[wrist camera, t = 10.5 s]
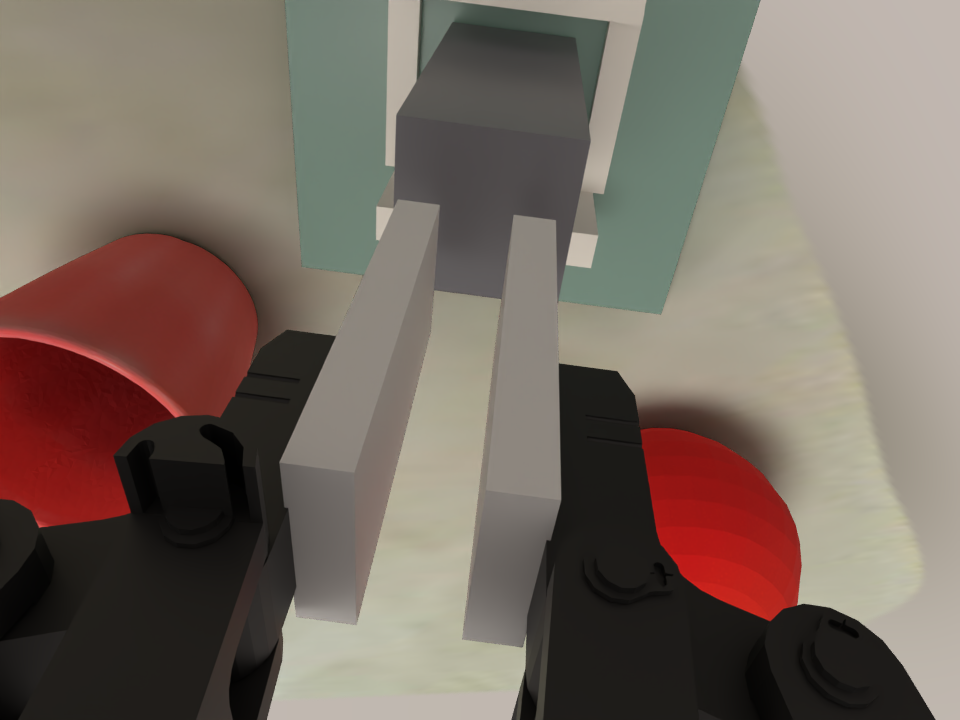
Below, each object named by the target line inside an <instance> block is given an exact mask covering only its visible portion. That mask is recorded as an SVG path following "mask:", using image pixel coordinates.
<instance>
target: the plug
mask: <svg viewBox="0 0 960 720" xmlns="http://www.w3.org/2000/svg"><path fill="white" fill-rule="evenodd" d="M590 143H591V137H590V131H589V124H588V118H587V111H586V104H585V98H584V91H583V84H582V78H581V71H580V64H579V58H578V51H577V45H576V38H571V37H564V36H556V35H548V34H541V33H533V32H525V31H518V30H510V29H502V28H495V27H487V26H479V25H472V24H464V23H456V22H452V24H451V26H450V27H449V29H448V30H447V32H446V34H445V35H444V37H443V39H442V40H441V42H440V44H439V45H438V47H437V49H436V50H435V52H434V53H433V55H432V57H431V58H430V60H429V62H428V63H427V65H426V67H425V68H424V70H423V72H422V73H421V75H420V77H419V78H418V80H417V81H416V83H415V85H414V86H413V88H412V90H411V91H410V93H409V95H408V96H407V98H406V100H405V101H404V103H403V104H402V106H401V108H400V109H399V111H398V113H397V114H396V136H395V172H394V207H395V205H396V203H397V200H398V199H399V200H406V201H414V202H421V203H429V204H437V205H440V212H439V226H438V240H437V254H436V268H435V282H434V290H438V291H445V292H453V293H460V294H468V295H476V296H483V297H491V298H498V299H502V293H503V286H504V279H505V272H506V265H507V258H508V251H509V244H510V237H511V230H512V223H513V216H514V215H520V216H528V217H535V218H543V219H550V220H556V252H557V305H558V300H559V295H560V290H561V285H562V280H563V275H564V271H565V266H566V261H567V256H568V251H569V246H570V241H571V236H572V231H573V226H574V221H575V217H576V212H577V207H578V202H579V197H580V192H581V187H582V182H583V177H584V172H585V167H586V163H587V158H588V153H589V148H590ZM393 209H394V208H393Z"/></svg>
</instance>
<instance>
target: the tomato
mask: <svg viewBox="0 0 960 720" xmlns="http://www.w3.org/2000/svg"><path fill="white" fill-rule="evenodd" d="M640 431H641V437H642V443H643V444H642V449H644V456H645V462H646V468H647V474H648V481H649V487H650V493H651V499H652V505H653V512H654V518H655V524H656V530H657V534H658V538H659V541H660V544H661V546H663V547H664V549H665V550H666V551H667V553H668V554H669V555H670V556H671V558H672V559H673V560H674V561H675V563H676V564H677V565H678V568H679V571H680V573H681V574H682V575H683V577H685V578H686V579H687V580H689V581H690V582H691V583H692V584H694V585H695V586H696V587H698V588H699V589H700V590H702V591H704V592H706V593H708V594H710V595H711V596H713V597H715V598H717V599H719V600H721V601H724V602H726V603H728V604H731V605H733V606H735V607H738V608H740V609H742V610H745V611H747V612H750V613H752V614H754V615H757V616H759V617H761V618H764V619H766V620H768V621H771V620H772V619H773V618H774V617H775V616H776V615H777V614H778V613H779V612H780V611H781V610H782V609H784V608H789V607H793V606H797V603H798V593H799V583H800V574H801V566H802V565H801V553H800V542H799V537H798V533H797V529H796V525H795V523H794V521H793V518H792V516H791V514H790V511H789V509H788V507H787V505H786V504H785V502H784V501H783V500H782V498H781V497H780V496H779V495H778V493H777V492H776V491H775V489H774V488H773V487H772V485H771V484H770V483H769V481H768V480H767V479H766V478H765V476H764V475H763V474H762V473H761V472H760V471H759V470H758V469H756V468H755V467H754V466H753V465H752V464H751V463H750V462H748V461H747V460H745V459H744V458H743V457H741V456H740V455H738V454H737V453H735V452H734V451H732V450H730V449H729V448H727V447H726V446H724V445H722V444H721V443H719V442H717V441H714V440H711V439H709V438H706V437H703V436H700V435H697V434H695V433H692V432H689V431H684V430H678V429H673V428H648V429H642V430H640Z"/></svg>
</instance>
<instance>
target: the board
mask: <svg viewBox="0 0 960 720" xmlns="http://www.w3.org/2000/svg"><path fill="white" fill-rule="evenodd" d="M759 3H760V0H285V12H286V27H287V43H288V59H289V74H290V90H291V106H292V121H293V137H294V153H295V168H296V184H297V200H298V215H299V231H300V247H301V262H302V267H306V268H314V269H321V270H329V271H337V272H344V273H352V274H359V275H364V274H365V271H366V269H367V267H368V265H369V263H370V260H371V258H372V256H373V254H374V251H375V249H376V247H377V245H378V243H379V240H380V238H381V236H382V234H383V231H384V229H385V227H386V225H387V223H388V220H389V218H390V216H391V214H392V211H393V208H394V172H395V136H396V114H397V113H398V111H399V109H400V108H401V106H402V104H403V103H404V101H405V100H406V98H407V96H408V95H409V93H410V91H411V90H412V88H413V86H414V85H415V83H416V81H417V80H418V78H419V77H420V75H421V73H422V72H423V70H424V68H425V67H426V65H427V63H428V62H429V60H430V58H431V57H432V55H433V53H434V52H435V50H436V49H437V47H438V45H439V44H440V42H441V40H442V39H443V37H444V35H445V34H446V32H447V30H448V29H449V27H450V26H451V24H452V22H456V23H464V24H472V25H479V26H487V27H495V28H502V29H510V30H518V31H525V32H533V33H541V34H548V35H556V36H564V37H571V38H576V45H577V51H578V58H579V64H580V71H581V78H582V84H583V91H584V98H585V104H586V111H587V118H588V124H589V131H590V137H591V143H590V148H589V153H588V158H587V163H586V167H585V172H584V177H583V182H582V187H581V192H580V197H579V202H578V207H577V212H576V217H575V221H574V226H573V231H572V236H571V241H570V246H569V251H568V256H567V261H566V266H565V271H564V275H563V280H562V285H561V290H560V295H559V300H558V301H563V302H571V303H578V304H586V305H593V306H601V307H608V308H616V309H623V310H631V311H639V312H646V313H654V314H661V313H662V310H663V307H664V304H665V301H666V297H667V294H668V291H669V288H670V285H671V282H672V278H673V275H674V272H675V269H676V266H677V263H678V259H679V256H680V253H681V250H682V247H683V244H684V240H685V237H686V234H687V231H688V228H689V225H690V221H691V218H692V215H693V212H694V209H695V206H696V203H697V199H698V196H699V193H700V190H701V187H702V184H703V180H704V177H705V174H706V171H707V168H708V165H709V161H710V158H711V155H712V152H713V149H714V146H715V142H716V139H717V136H718V133H719V130H720V127H721V123H722V120H723V117H724V114H725V111H726V108H727V104H728V101H729V98H730V95H731V92H732V89H733V86H734V82H735V79H736V76H737V73H738V70H739V67H740V63H741V60H742V57H743V54H744V51H745V48H746V44H747V41H748V38H749V35H750V32H751V29H752V25H753V22H754V19H755V16H756V13H757V9H758V6H759Z"/></svg>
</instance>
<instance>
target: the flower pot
mask: <svg viewBox="0 0 960 720" xmlns="http://www.w3.org/2000/svg"><path fill="white" fill-rule="evenodd" d="M257 331H258V320H257V314H256V310H255V307H254V303H253V301H252V299H251V296H250V294H249V292H248V291H247V289H246V287H245V286H244V284H243V283H242V282H241V280H240V279H239V278H238V277H237V275H236V274H235V273H234V272H233V271H232V270H231V269H230V268H229V267H228V266H227V265H226V264H225V263H223V262H222V261H221V260H219V259H218V258H217V257H215V256H214V255H213V254H211V253H209V252H208V251H206V250H204V249H203V248H201V247H198V246H196V245H194V244H192V243H188V242H185V241H182V240H180V239H177V238H175V237H172V236H167V235H161V234H136V235H131V236H126V237H123V238H120V239H118V240H116V241H113V242H111V243H109V244H107V245H105V246H103V247H101V248H98V249H96V250H94V251H92V252H90V253H88V254H86V255H83V256H81V257H79V258H77V259H75V260H73V261H71V262H69V263H67V264H65V265H63V266H61V267H59V268H57V269H55V270H53V271H51V272H49V273H47V274H45V275H43V276H41V277H39V278H37V279H35V280H33V281H32V282H30V283H28V284H26V285H24V286H22V287H20V288H18V289H16V290H14V291H13V292H11V293H9V294H7V295H5V296H3V297H1V298H0V499H6V500H14V501H16V502H17V503H19V504H21V505H22V506H24V507H26V508H28V509H29V510H31V511H32V513H33V515H34V518H35V520H36V522H37V524H38V526H39V528H40V527H48V526H55V525H63V524H71V523H79V522H86V521H94V520H102V519H107V518H112V517H117V516H121V515H126V514H128V513H131V511H130V508H129V505H128V501H127V498H126V495H125V492H124V489H123V486H122V483H121V479H120V476H119V473H118V470H117V467H116V464H115V460H114V457H113V455H114V454H115V453H116V452H117V451H118V450H119V449H120V448H121V446H122V445H123V444H124V443H125V442H126V441H127V440H128V439H129V438H130V437H132V436H133V435H135V434H137V433H139V432H140V431H142V430H144V429H146V428H147V427H149V426H151V425H153V424H155V423H158V422H162V421H165V420H169V419H172V418H176V417H179V416H191V415H211V416H216V417H221V415H222V413H223V412H224V410H225V408H226V407H227V405H228V403H229V402H230V400H231V398H232V397H235V391H236V390H237V388H238V386H239V385H240V383H241V381H242V380H243V378H244V377H246V376H247V371H248V370H249V368H250V364H251V360H252V356H253V352H254V347H255V343H256V338H257Z"/></svg>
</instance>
